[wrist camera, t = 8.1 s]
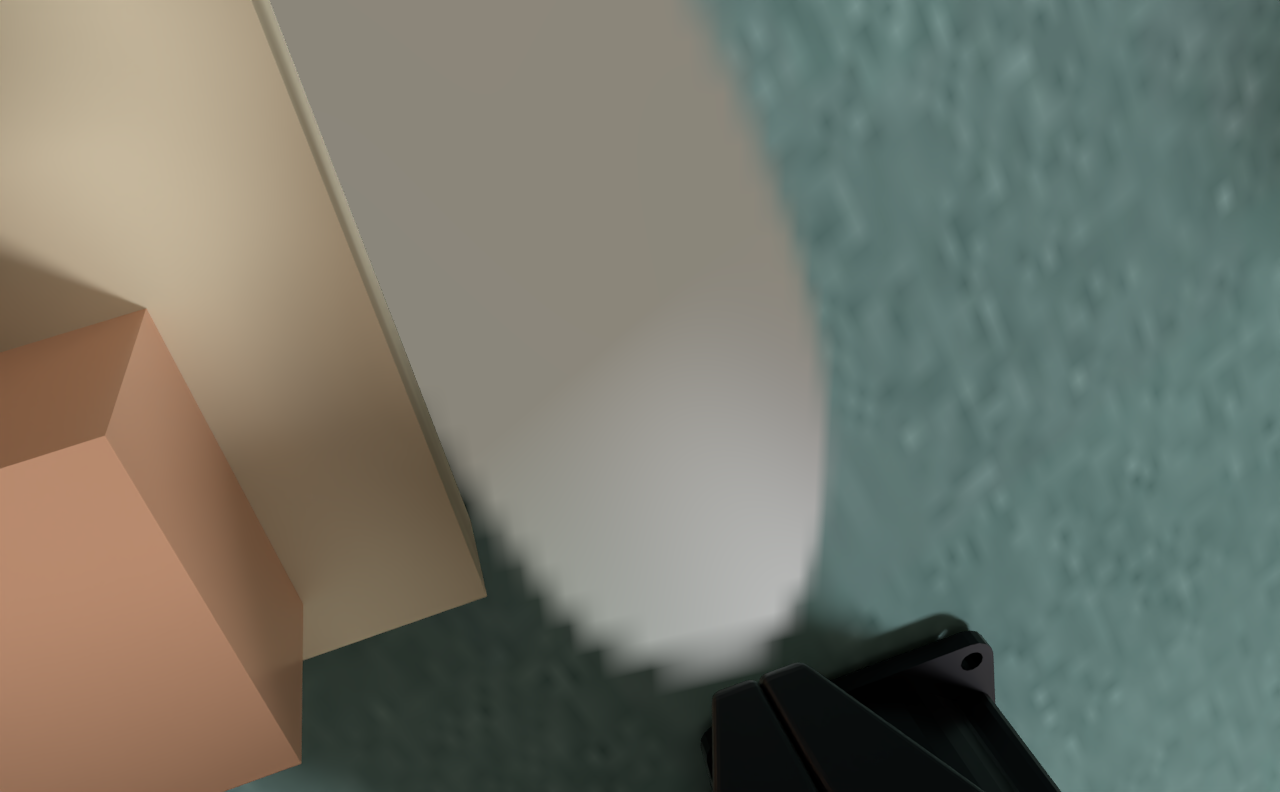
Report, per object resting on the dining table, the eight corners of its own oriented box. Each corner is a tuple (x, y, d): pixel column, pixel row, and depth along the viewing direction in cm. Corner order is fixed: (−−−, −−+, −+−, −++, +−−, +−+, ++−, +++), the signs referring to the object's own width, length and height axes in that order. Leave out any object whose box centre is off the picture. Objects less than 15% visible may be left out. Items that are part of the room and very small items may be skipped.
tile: (146, 308, 13) (104, 435, 10) (303, 604, 15) (301, 763, 13) (-289, 439, 12) (-448, 609, 10) (-46, 723, 15) (-121, 915, 12)
